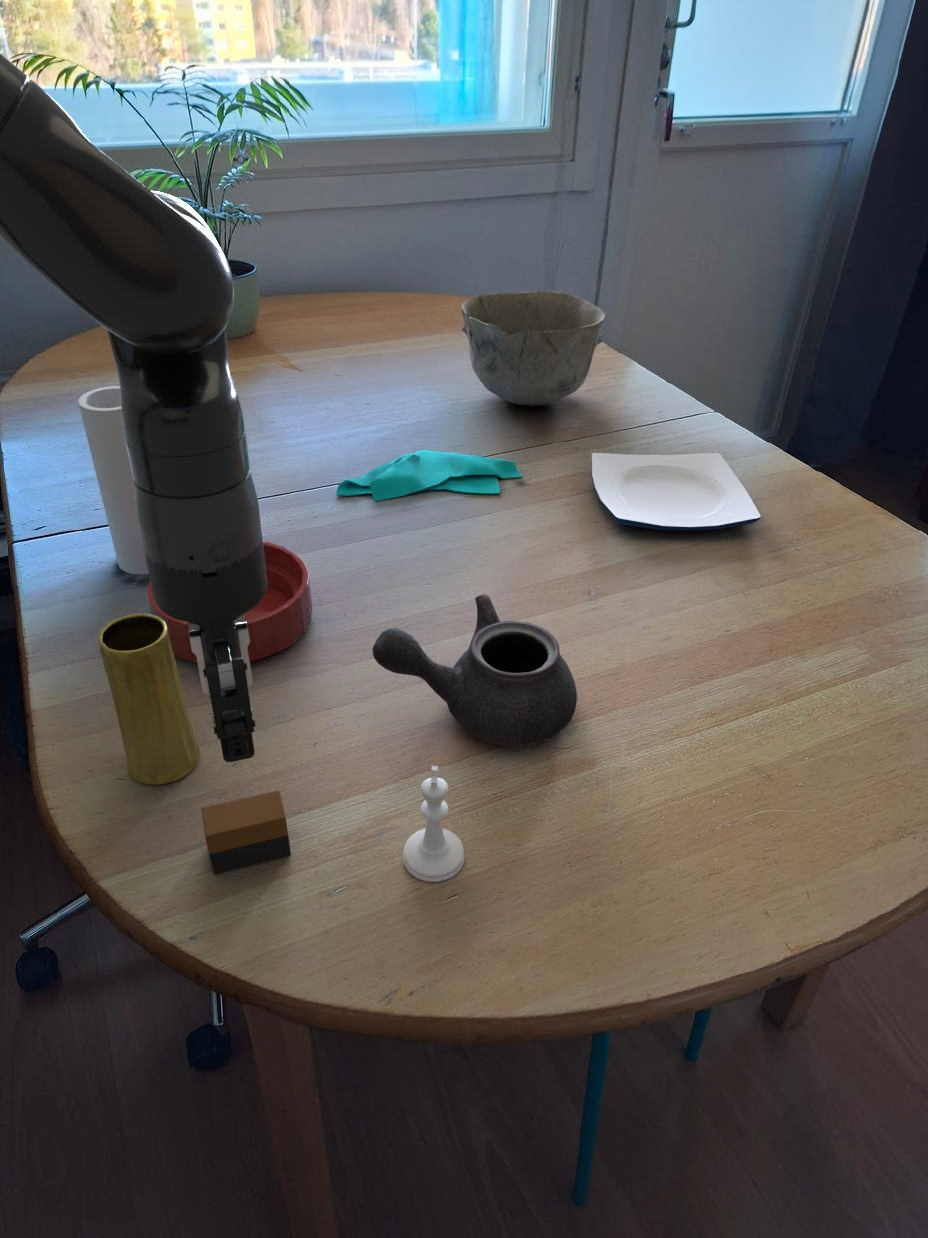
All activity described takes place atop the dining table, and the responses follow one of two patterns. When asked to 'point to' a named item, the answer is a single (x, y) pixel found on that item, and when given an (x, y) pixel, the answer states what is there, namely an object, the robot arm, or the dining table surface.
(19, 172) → the robot arm
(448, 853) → the chess piece
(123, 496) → the vase
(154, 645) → the vase
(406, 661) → the teapot
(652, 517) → the plate
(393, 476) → the cloth
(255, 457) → the dining table surface
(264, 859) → the eraser
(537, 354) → the bowl
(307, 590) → the red bowl
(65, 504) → the dining table surface
